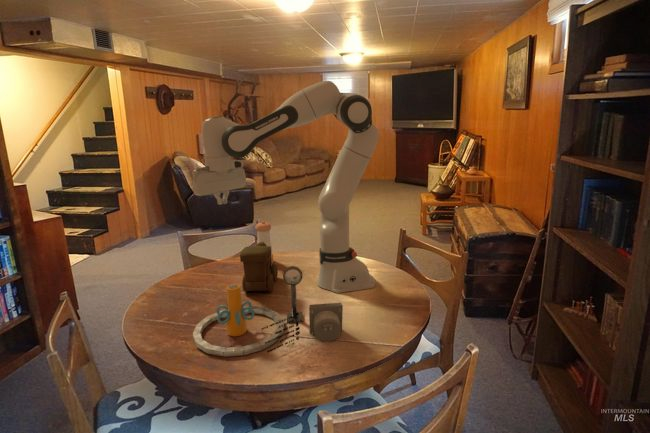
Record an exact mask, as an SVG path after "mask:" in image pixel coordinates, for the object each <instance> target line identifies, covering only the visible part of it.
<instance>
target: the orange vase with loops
mask: <svg viewBox="0 0 650 433" xmlns="http://www.w3.org/2000/svg"><path fill="white" fill-rule="evenodd" d="M226 297H227V298H226V299H227V306H226V305H225V304H221V305H218V306H217V308H216V311H215V313H216V312H217V314H218V318H217V320H216V321H217V322H218V324H220V325H226V326H225V327H226V333H227V335H228V336H229V337H230V336H231V337H240V336H243V335H244V334H246V332H247V328H248V327H247V321H249V320H250V321H251V320H252V319H254V317H255V314H256V313H254V310H253V309H252V306H253V305H252V303H251V301H249V300H248V301H246V300H245V301H244V302H242V294H241V285H240V284H236V283H232V284H229V285H227V286H226ZM246 304H248V306H249V307H244V308H243V306H246ZM220 309H222V310H223V311H221V310H220ZM225 309H226V310H225ZM246 309H248V311H246V312H244V310H246ZM219 311H221V312H220V313H219ZM250 311H251V312H252V313H251V315H250V316H246V315H248V314H250V313H249V312H250ZM223 313H227V314H226V315H222V314H223ZM220 317H221V318H220ZM225 318H226V319H225ZM221 319H225V320H223V321H222V320H221Z"/></svg>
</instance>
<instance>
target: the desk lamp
mask: <svg viewBox="0 0 650 433" xmlns="http://www.w3.org/2000/svg"><path fill="white" fill-rule="evenodd" d="M282 279H283V281H284V283H286V284H287V285H288V286H290V296H291V297H290V299H291V312H286V323H288V324H289V322H290V324H292V323H295V324H296V322H298V323H303V312H302V311H297V310H298V308H297V285H299V284H300V283H301V282H302V280H303V272H302V270H301V268H299V267H297V266H296V265H292V266H288V267H286V268H285V269H284V271H283V273H282ZM296 313H299V315H298V316H295V314H296ZM291 316H294V317H293V318H290V317H291ZM297 317H298V319H297ZM287 318H288V320H287ZM289 318H290V319H289ZM292 320H294V322H292V323H291V321H292ZM296 320H297V321H296Z"/></svg>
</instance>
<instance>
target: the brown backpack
mask: <svg viewBox="0 0 650 433" xmlns="http://www.w3.org/2000/svg"><path fill="white" fill-rule="evenodd" d="M239 259H240V260H239V261H240V263H243V271H244V272H243V273H244V274H243V277H242V280H241V281H242V284H241V286H242V290H243V292H244V293H247V292H249V291H251V292H252V291H257V292H259V291H267V292H268V293H271V292H272V291H274V290H273V289H274V284H275V283H274V282H276V281H277V279H278V274H279V271H278V268H279V267H278V265H277V263H275V262H273V263H272V264H271V247H270V246H266V244H265V243H264V242H259V243H258V244H256V245H249V246H245V247H244V248H243V249H242V250H241V252H240V254H239Z"/></svg>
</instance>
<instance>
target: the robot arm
mask: <svg viewBox="0 0 650 433" xmlns="http://www.w3.org/2000/svg"><path fill="white" fill-rule="evenodd" d="M372 110H373V108H372V106H371V103H370V102H369V99H367V98H366V97H365V96H363V95H361V94H358V93H353V92H352V93H350V92H341V91H340V89H339V88H338V86H337V85H336V84H335V83H334V82H333V81H331V80H323V81H320V82H317V83H313V84H312V85H309V86H306V87H304V88H302V89H300V90H298V91H297V92H295V93H294V94H292V95H291V96H290V97H288V98H287V99H285V100H284V102H282V103H281V104H280V105H279V106H278V107H277V108H276V109H274V110H273V111H272V112H270V113H269V114H267V115H265V116H263V117H262V118H259V119H257V120H256V121H253V122H251V123H249V124H245V125H243V124H239V123H236V122H234V121H232V120H229V119H228V118H226V116H222V115H218V116H213V117H209V118H206V119H205V120H203V122H202V123H201V141H202V147H203V148H204V153H203V157H204V166H202V167H196V168H195V169H193V171H192V173H191V175H192V192H193V194H194V195H195V196H199V197H202V196H207V195H212V194H213V196H214V198H215V199H216V201H217V205H219V206H220V205H226V204H228V198H229V195H230V191H232V190H236V189H237V190H238V189H241V188H245V187H246V185H247V178H246V177H247V176H246V171H245V169H244V168H243V167H244V162H243V161H241V160H238V159H240V158H241V159H242V158H244V157H246V156H248V155H249V154H250V153H251V152H252V151H253V150H254V148H255V147H256V145H258V144H259V143H260V142H263V141H264V140H266V139H268V138H269V137H271V136H273V135H275V134H277V133H280V132H281V131H284V130H287V129H292V128H298V127H302V126H305V125H308V124H310V123H313V122H315V121H316V120H318V119H321V118H322V117H324V116H327V115H333V116H334V117H335V118H336V120H338V121H339V122H340V123H341V124H342V125H343V126H344V125H345V126H347V129H348V131H347V132H348V134H347V137H346V139H345V140H344V143H343V145H342V147H341V148H340V152H339V154H338V156H337V157H336V160H335V162H334V163H333V166H332V169H331V170H330V173H329V175H328V177H327V179H326V181H325V184H324V186H323V187H322V190H321V191H320V193H319V197H318V200H317V206H318V209H319V210H320V218H319V220H320V222H319V224H320V226H319V236H320V237H319V240H320V246H319V247H320V248H319V252H318V253H319V254H318V256H319V257H318V258H319V259H318V260H319V264H320V267H319V273H318V279H317V282H316V284H317V286H319V287H320V288H322V289H323V290H324V289H325V290H328V291H331V292H334V293H335V294H336V293H337V294H340V293H347V292H355V291H362V290H369V289H374V288H375V287H376V280H375V277H374V276H373V275H372V274H370V272H369V269H368V267H367V265H366V264H365V263H364V262H363V261H361V260H360V259H359V258H357V257H358V253H357V252H356V251H355V249H353V247H352V246H351V247H350V205H351V202H352V199H353V198H354V196H355V193H356V191H357V189H358V186H359V185H360V182H361V179H362V178H363V176H364V173H365V171H366V170H367V167H368V166H369V163H370V161H371V160H372V157H373V155H374V152H375V150H376V148H377V144H378V142H379V137H380V131H379V129H378V127H377V126H376V125H375V124H374V123H373V111H372ZM231 157H232V158H231ZM234 158H235V159H234ZM221 193H222V194H223V195H222V198H221Z"/></svg>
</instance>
